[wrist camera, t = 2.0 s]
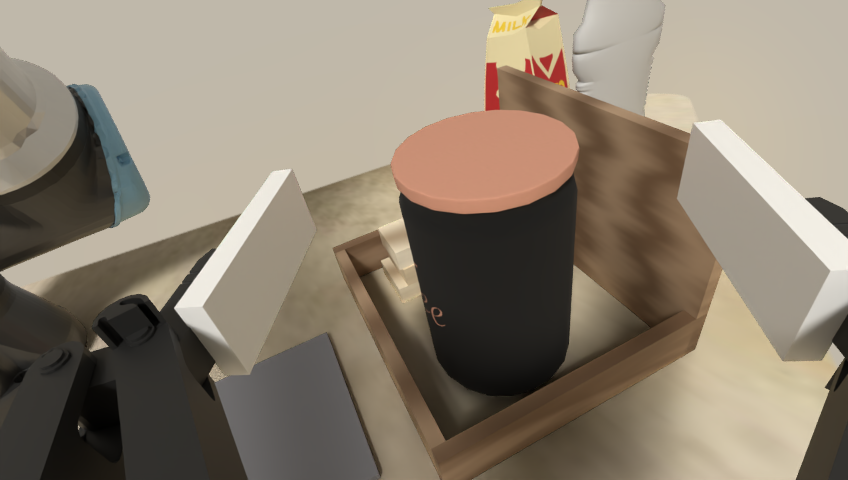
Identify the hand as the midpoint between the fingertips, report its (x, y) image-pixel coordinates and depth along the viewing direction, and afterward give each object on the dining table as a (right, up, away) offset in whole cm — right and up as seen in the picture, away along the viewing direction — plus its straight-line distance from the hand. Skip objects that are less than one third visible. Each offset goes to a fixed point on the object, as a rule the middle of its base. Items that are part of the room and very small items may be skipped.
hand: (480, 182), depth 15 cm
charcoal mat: (-14, -17, +18) cm, 28 cm away
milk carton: (+12, +9, +44) cm, 46 cm away
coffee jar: (+4, -11, +21) cm, 24 cm away
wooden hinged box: (+4, -8, +24) cm, 26 cm away
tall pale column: (+19, +3, +35) cm, 40 cm away
